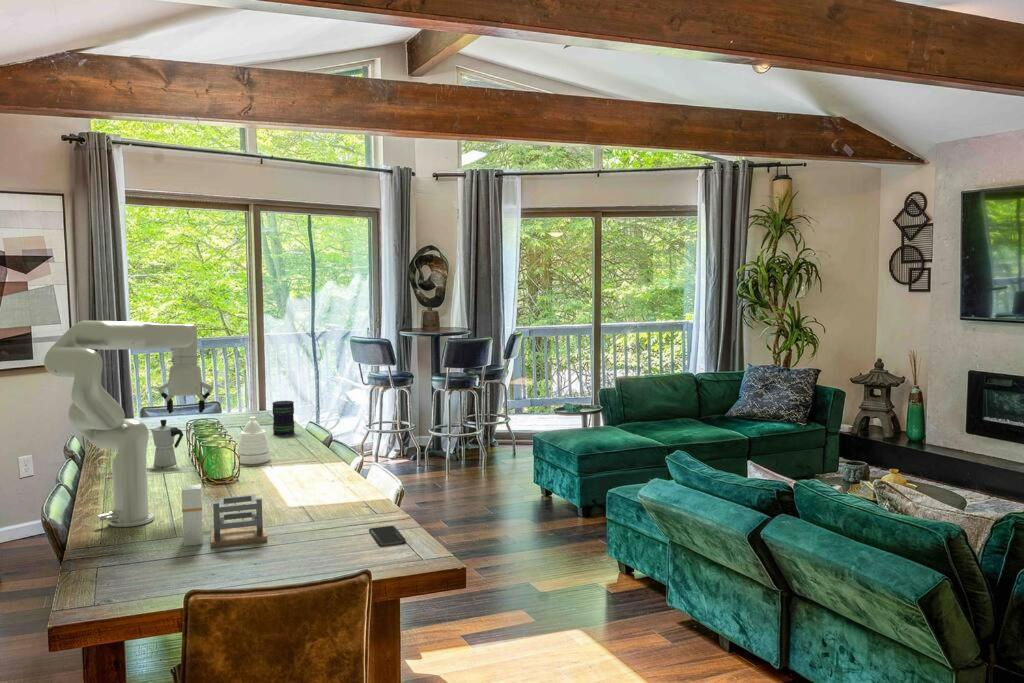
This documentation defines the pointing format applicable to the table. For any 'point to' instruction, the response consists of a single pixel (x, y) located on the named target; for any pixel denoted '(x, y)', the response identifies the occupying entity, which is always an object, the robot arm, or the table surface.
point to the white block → (192, 514)
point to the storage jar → (283, 418)
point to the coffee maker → (165, 444)
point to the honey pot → (253, 444)
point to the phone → (387, 536)
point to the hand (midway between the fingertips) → (186, 412)
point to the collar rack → (238, 522)
